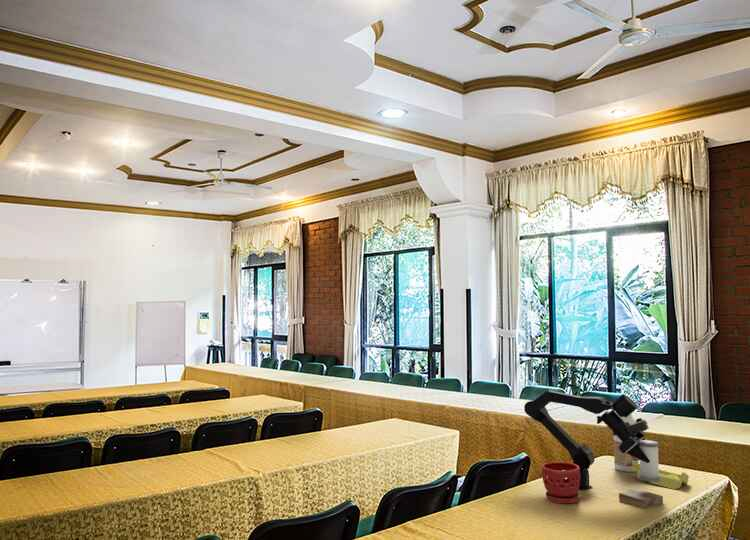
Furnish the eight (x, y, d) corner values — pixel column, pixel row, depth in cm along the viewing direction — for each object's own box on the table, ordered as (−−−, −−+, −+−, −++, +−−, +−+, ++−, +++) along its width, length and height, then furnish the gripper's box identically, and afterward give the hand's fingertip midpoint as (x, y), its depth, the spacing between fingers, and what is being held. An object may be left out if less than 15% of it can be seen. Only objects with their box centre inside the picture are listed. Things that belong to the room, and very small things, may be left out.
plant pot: (564, 492, 217) (563, 459, 218) (589, 503, 204) (588, 468, 205) (534, 496, 212) (534, 462, 213) (557, 507, 200) (557, 471, 201)
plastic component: (690, 477, 228) (682, 471, 221) (686, 496, 225) (679, 490, 219) (638, 464, 242) (629, 458, 235) (634, 482, 239) (625, 476, 233)
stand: (644, 508, 199) (644, 500, 199) (619, 500, 208) (619, 493, 208) (662, 503, 204) (662, 496, 204) (637, 495, 213) (637, 488, 213)
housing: (649, 483, 205) (648, 445, 206) (633, 477, 212) (632, 440, 213) (666, 481, 208) (665, 443, 209) (649, 475, 215) (648, 439, 216)
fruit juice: (615, 465, 255) (613, 400, 257) (639, 468, 250) (636, 401, 253) (613, 470, 246) (611, 403, 248) (638, 473, 242) (635, 404, 244)
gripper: (627, 415, 207) (663, 451, 200) (638, 408, 222) (672, 441, 215) (605, 435, 211) (639, 471, 204) (617, 426, 226) (649, 460, 219)
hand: (650, 460), depth 210 cm, fingers closed on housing, 6 cm apart
